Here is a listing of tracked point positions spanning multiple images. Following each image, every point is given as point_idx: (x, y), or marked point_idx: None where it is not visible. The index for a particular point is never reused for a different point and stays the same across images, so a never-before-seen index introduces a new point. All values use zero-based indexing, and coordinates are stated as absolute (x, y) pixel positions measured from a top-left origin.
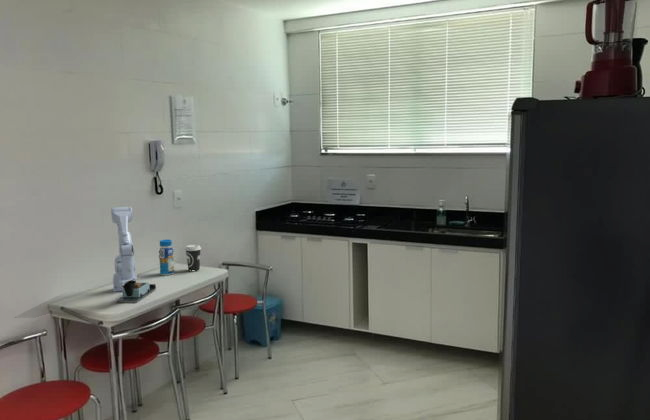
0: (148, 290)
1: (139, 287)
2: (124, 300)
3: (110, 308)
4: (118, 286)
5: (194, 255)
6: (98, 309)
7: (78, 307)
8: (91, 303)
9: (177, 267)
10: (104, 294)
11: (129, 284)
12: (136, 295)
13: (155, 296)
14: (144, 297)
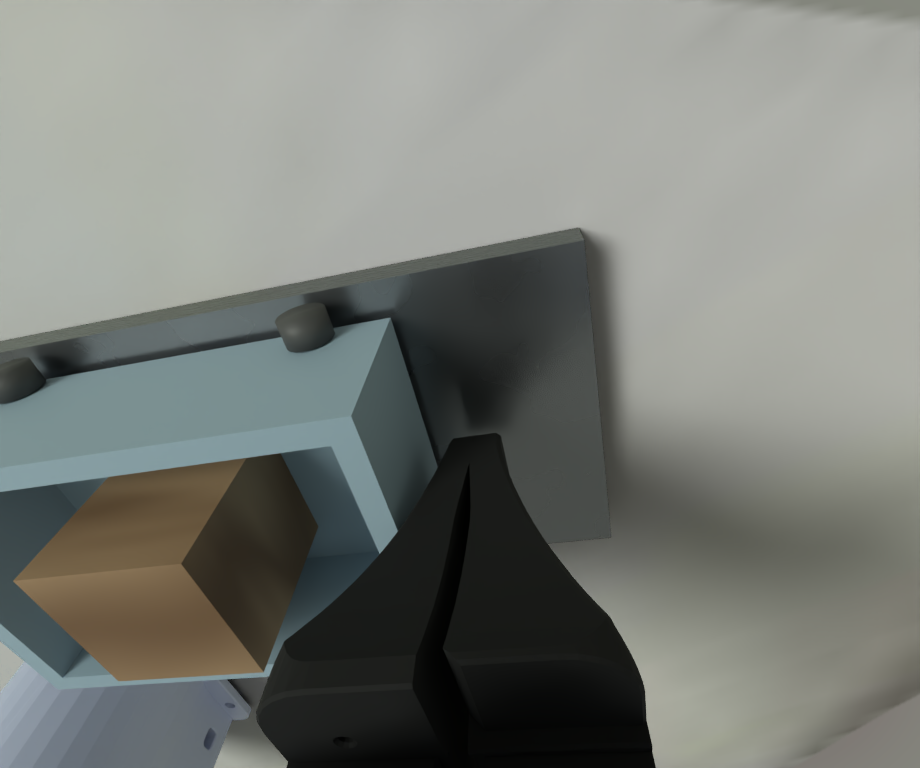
0: (27, 373)
1: (158, 506)
2: (586, 452)
3: (889, 452)
4: (189, 734)
5: None
6: (912, 553)
7: (796, 714)
8: (657, 689)
9: None
10: None
11: (634, 675)
12: (397, 381)
13: (79, 121)
14: (251, 292)
